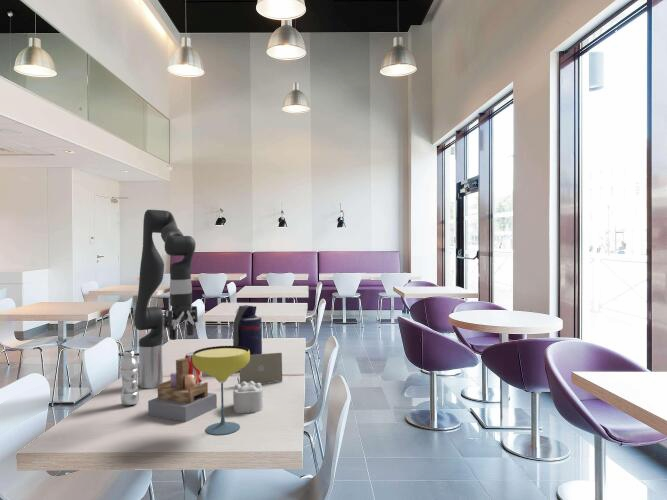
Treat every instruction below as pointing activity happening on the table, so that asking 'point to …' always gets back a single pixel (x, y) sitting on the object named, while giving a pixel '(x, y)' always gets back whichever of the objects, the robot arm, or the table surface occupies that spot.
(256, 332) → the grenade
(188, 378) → the peach glossy rounded part
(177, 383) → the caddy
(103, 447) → the table surface
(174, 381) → the lilac rounded capsule
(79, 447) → the table surface
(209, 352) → the cocktail glass
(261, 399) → the lumpy-topped squat cylinder
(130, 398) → the plastic bottle
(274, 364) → the laptop
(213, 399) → the plain gray square box
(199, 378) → the soda can
